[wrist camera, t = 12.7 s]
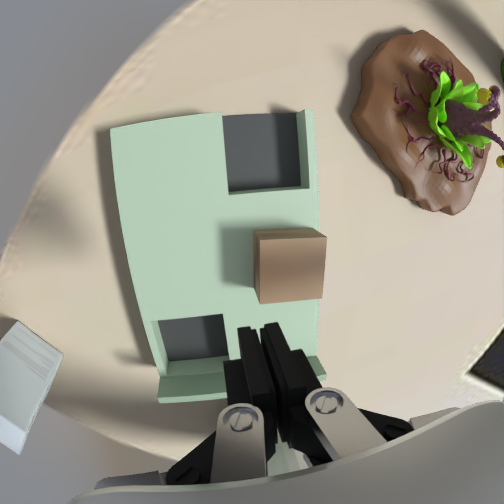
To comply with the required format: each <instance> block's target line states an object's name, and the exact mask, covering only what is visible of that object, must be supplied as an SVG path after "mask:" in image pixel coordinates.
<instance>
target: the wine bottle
mask: <svg viewBox="0 0 504 504" xmlns="http://www.w3.org/2000/svg"><path fill="white" fill-rule="evenodd" d="M501 71H502V77H503V81H504V59H503V60H502V63H501Z"/></svg>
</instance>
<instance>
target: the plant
mask: <svg viewBox="0 0 504 504" xmlns="http://www.w3.org/2000/svg"><path fill="white" fill-rule="evenodd" d="M361 76H362V89H361V93H360V96H359V99H358V101H357V104H356V107H355V108H354V110H353V112H352V114H351V115H350V119H351V120H352V122H353V123H354V125H355V127H356V129H357V131H358V133H359V134H360V136H361V137H362V138H363V139H364V140H365V141H367V142H368V143H369V144H370V145H371V146H372V147H373V148H374V150H375V151H376V153H377V154H378V156H379V158H380V160H381V162H382V163H383V164H384V165H385V166H386V167H387V168H388V169H389V170H390V171H391V172H392V173H393V174H394V175H395V176H396V177H397V178H398V179H399V181H400V182H401V185H402V187H403V191H404V196H405V198H407V199H410V200H414V201H417V203H418V204H419V206H420V207H421V208H422V209H425V210H428V211H431V212H436V211H438V210H440V209H441V211H442V212H443V213H446V214H448V215H452V216H453V215H455V214H457V213H459V212H461V211H462V210H464V209H465V208H466V207H467V206H468V204H469V203H470V201H471V199H472V196H473V194H474V192H475V189H476V187H477V185H478V182H479V180H480V178H481V176H482V173H483V171H484V168H485V165H486V161H487V155H488V152H489V150H490V147H491V141H492V140H493V141H495V142H496V143H498V144H499V145H500V146H501V147H502V150H504V142H503V141H502V140H501V138H500V137H498V136H497V134H494V133H493V131H492V125H491V122H492V120H493V119H496V118H497V117H498V115H499V114H500V106H499V104H498V101H497V100H498V97H499V96H500V89H499V88H498V87H497V86H496V85H493V86H490V88H489V90H487V89H485V88H481V89H479V85H478V84H477V83H476V82H475V79H474V77H473V75H472V74H471V72H470V71H469V70H468V69H467V68H466V67H465V66H464V65H463V64H462V63H461V62H460V61H459V60H458V59H457V58H456V57H455V55H454V54H453V53H452V52H451V51H450V50H449V49H448V48H447V47H446V46H445V45H444V44H443V43H442V42H441V41H439V40H438V39H437V38H435V37H434V36H432V35H431V34H429V33H428V32H426V31H425V30H420V31H417V32H414V33H412V34H400V35H396V36H394V37H392V38H390V39H388V40H386V41H384V42H383V43H381V44H380V45H379V46H378V47H377V48H376V50H375V51H374V52H373V54H372V55H371V56H370V58H369V59H368V60H367V61H366V62H365V64H364V65H363V67H362V69H361ZM493 107H494V108H495V110H493V111H491V112H490V110H491V109H492V108H493ZM496 163H497V165H498V167H500V168H504V155H502V156H499V157H498V158H497V160H496Z"/></svg>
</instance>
